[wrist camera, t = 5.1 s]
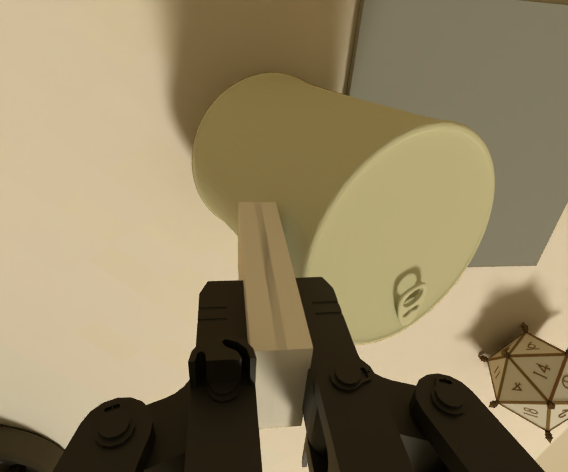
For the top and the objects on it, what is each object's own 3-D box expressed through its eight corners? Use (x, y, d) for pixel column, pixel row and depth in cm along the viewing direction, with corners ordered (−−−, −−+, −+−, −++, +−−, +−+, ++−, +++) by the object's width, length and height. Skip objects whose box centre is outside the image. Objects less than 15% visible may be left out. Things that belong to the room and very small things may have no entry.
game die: (470, 316, 41) (482, 354, 32) (567, 310, 38) (612, 349, 29) (483, 400, 41) (499, 461, 32) (580, 400, 38) (628, 468, 29)
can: (218, 250, 25) (329, 394, 16) (165, 103, 19) (287, 191, 10) (339, 193, 27) (492, 286, 18) (322, 51, 22) (527, 84, 13)
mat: (320, 265, 30) (322, 270, 30) (363, -15, 21) (366, -15, 20) (531, 261, 33) (536, 265, 32) (650, 13, 24) (659, 14, 23)
